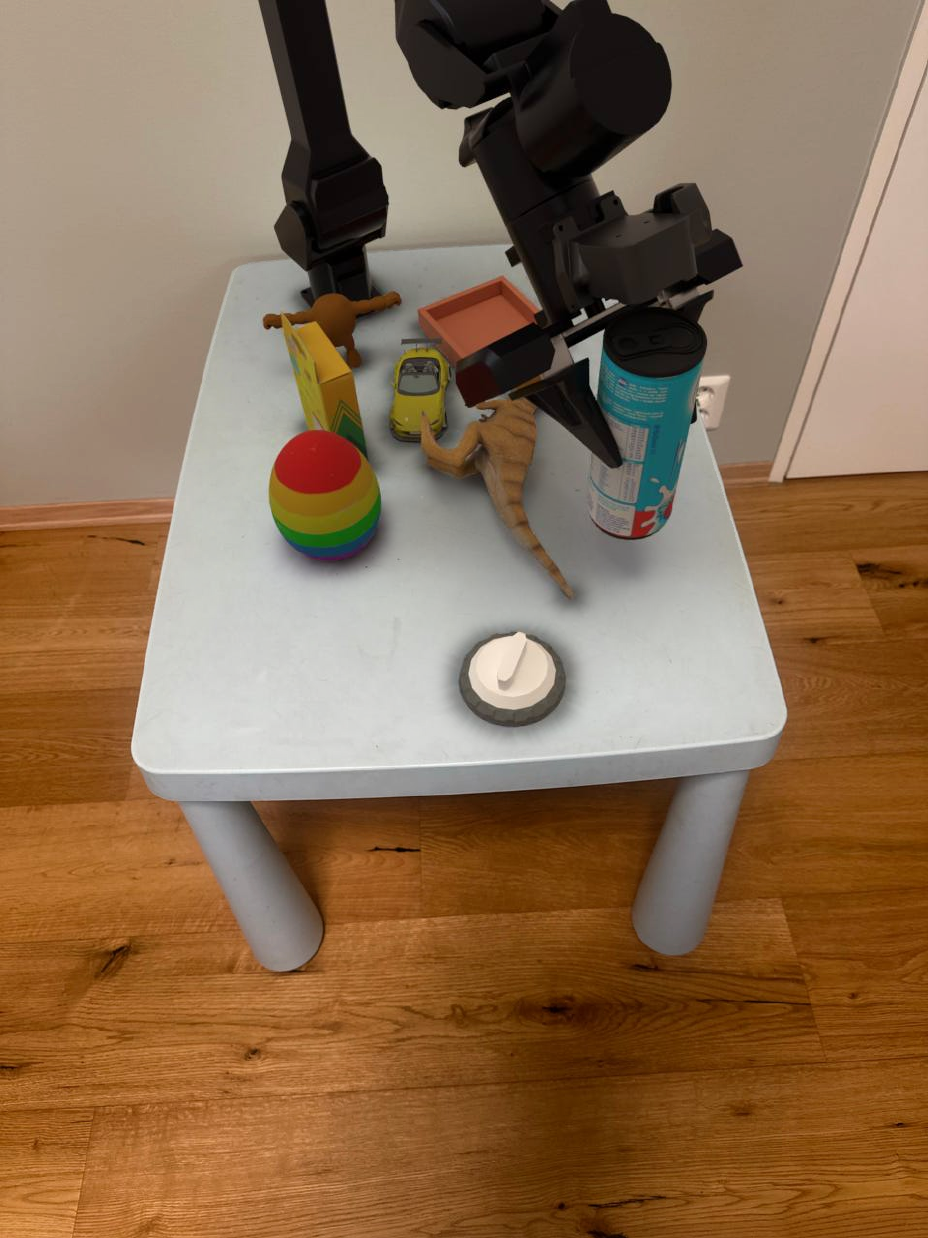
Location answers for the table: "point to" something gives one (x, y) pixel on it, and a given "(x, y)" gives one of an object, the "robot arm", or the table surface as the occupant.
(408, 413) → the toy car
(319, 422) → the crayon box
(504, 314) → the tray
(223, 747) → the table surface
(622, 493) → the beverage can
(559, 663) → the stove knob
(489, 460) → the dinosaur figurine
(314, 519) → the decorative egg
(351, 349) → the toy figurine
